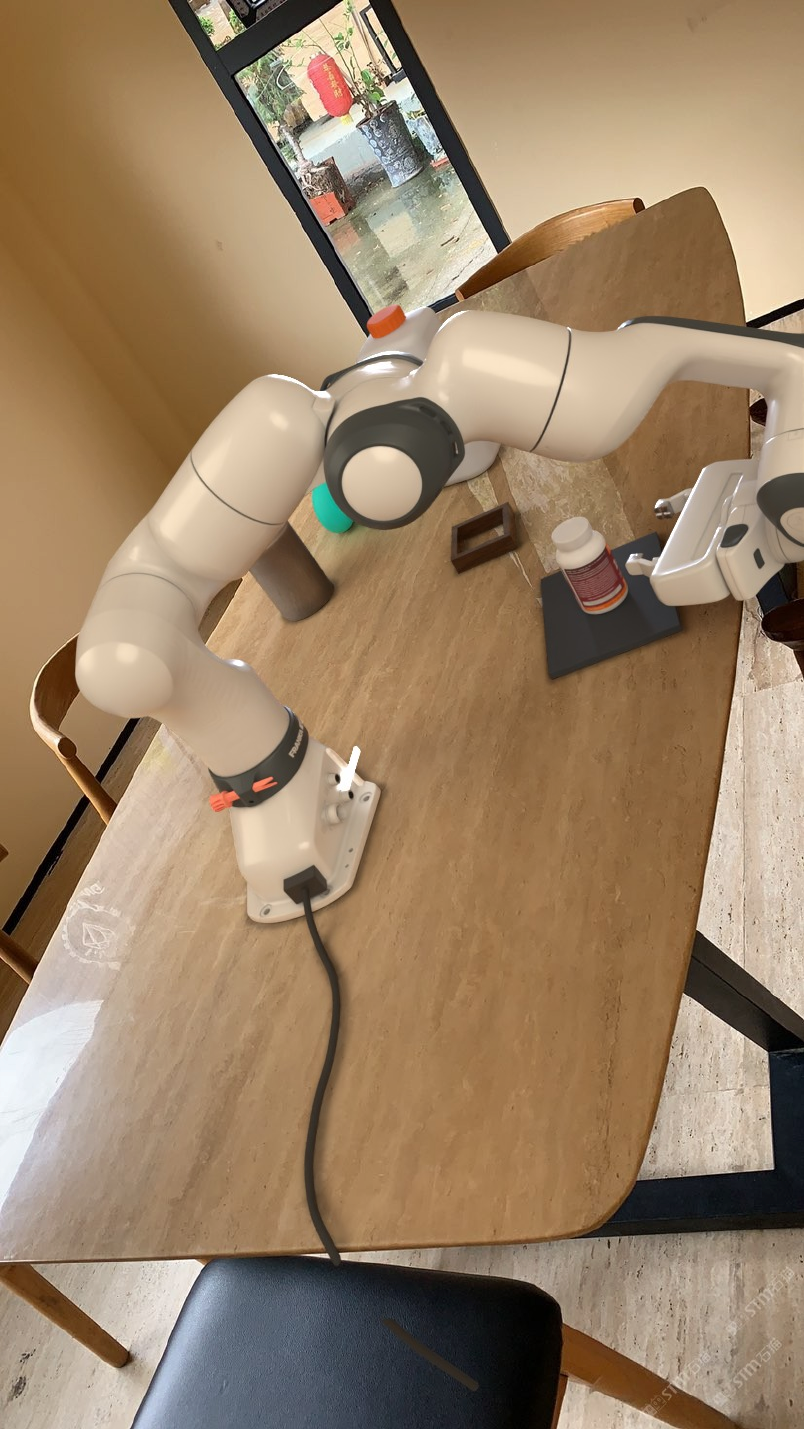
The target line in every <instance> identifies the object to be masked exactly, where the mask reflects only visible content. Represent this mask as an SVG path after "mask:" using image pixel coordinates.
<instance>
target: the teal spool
mask: <svg viewBox="0 0 804 1429" xmlns="http://www.w3.org/2000/svg"><path fill="white" fill-rule="evenodd" d="M311 492H312V493H311V501H312V507H313V508H312V509H313V510H314V511H313V512H314V514H315V516H316V518H317V520H318V521H319V523H320V524H321V526H322V527H323V528H325V530H327V531H328V532H330V533H332V534H343V533H346V532H347V531H348V530H349V529H350V528H351V527H352V525H353V523H354V521H353V520H351V519H350V518H348V517H347V516H346V515H345V514H344V513H343V512H342V511H341V510H340V509H339V507H338V506H337V505H336V503H335V502H334V500H333V498H332V496H331V494H330V492H329V490H328V487H327V483H323V484H321V485H319V486H318V487H316V488H315V489H313V490H312V491H311Z"/></svg>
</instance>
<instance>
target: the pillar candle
mask: <svg viewBox="0 0 804 1429" xmlns="http://www.w3.org/2000/svg"><path fill="white" fill-rule="evenodd" d="M248 573H250V574H251V576H252V577H253V578H254V579H255V581H256V582H257V583H258V585H259V586H260V588H261V589H262V590H263V592H264V593H265V594H266V595H267V597H268V598H269V600H270V601H271V602H272V604H273V605H274V606H275V607H276V609H277V610H278V611H279V613H280V614H281V615H282V616H283V618H284V619H285V620H287V621H289V622H299V621H301V620H304V619H306V618H309V617H310V616H313V615H314V614H315V613H316V612H318V611H319V610H320V609H321V608H323V606H324V605H325V604H326V603H327V602H328V601H329V600H330V599H331V597H332V596H333V594H334V590H335V586H334V583H333V582H332V581H331V580H330V578H329V577H328V576H327V574H326V573H325V571H324V570H323V569H322V567H321V565H320V564H319V563H318V561H317V560H316V559H315V557H314V556H313V554H312V553H311V551H310V550H309V548H308V546H306V544H305V543H304V542H303V540H302V538H301V537H300V536H299V534H298V533H297V531H296V530H295V529H294V527H293V525H291V523H290V522H289V520H288V521H287V522H286V523H285V524H284V526H283V527H282V528H281V530H280V531H279V532H278V534H277V535H276V536H275V538H274V539H273V540H272V541H271V543H270V544H269V545H268V547H267V548H266V549H265V551H264V552H263V553H262V555H261V556H260V557H259V558H258V560H257V561H256V562H255V564H254V565H253V566H252V568H251V569H250V570H249V571H248Z"/></svg>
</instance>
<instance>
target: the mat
mask: <svg viewBox="0 0 804 1429" xmlns="http://www.w3.org/2000/svg"><path fill="white" fill-rule="evenodd" d="M610 551H611V553H612V555H613V557H614V559H615V561H616V563H617V565H618V567H619V569H620V571H621V573H622V575H623V577H624V579H625V581H626V583H627V586H628V593H627V596H626V597H625V599H624V600H623V601H622V603H621V604H620V605H618V606H617V607H616V608H614V609H613V610H611V611H608V612H606V613H602V614H588V613H586V612H584V611H583V610H582V608H581V607H580V605H579V603H578V601H577V599H576V598H575V596H574V594H573V592H572V590H571V588H570V586H569V584H568V583H567V581H566V579H565V577H564V575H563V573H562V571H561V570H559V571H557V572H554V573H552V574H550V575H547V576H544V577H542V578H540V580H539V581H540V590H541V591H540V592H541V601H542V602H541V603H542V612H543V614H542V615H543V624H544V626H543V627H544V634H545V635H544V636H545V648H546V660H547V670H548V675H549V678H551V680H555V679H557V678H561V677H563V676H565V675H568V674H570V673H573V672H576V671H578V670H579V671H580V670H582V669H584V668H587V667H589V666H592V665H595V664H597V663H601V662H603V661H605V660H608V659H610V658H613V657H616V656H618V655H621V654H624V653H627V652H630V651H632V650H634V649H637V648H639V647H643V646H645V645H647V644H650V643H653V642H657V641H658V640H661V639H664V638H667V637H669V636H672V635H675V634H677V633H679V632H682V631H683V630H684V628H683V626H682V621H681V618H680V614H679V610H678V606H668V605H665V604H664V603H662V602H661V601H660V600H659V599H658V598H657V596H656V594H655V592H654V590H653V588H652V585H651V583H650V578H649V577H647V576H645V575H644V574H642V575H631V574H629V572H628V570H627V568H626V566H625V565H626V563H627V561H628V559H629V557H630V555H632V554H634V555H636V554H641V553H643V554H644V556H645V560H648V561H652V560H653V558H655V557H660V556H661V554H662V552H663V547H662V544H661V540H660V536H659V534H658V532H657V531H653V532H651V533H648V534H646V535H644V536H641V537H639V538H637V539H634V540H632V541H629V542H626V543H625V544H622V545H620V546H617V547H615V548H612V549H610Z"/></svg>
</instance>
